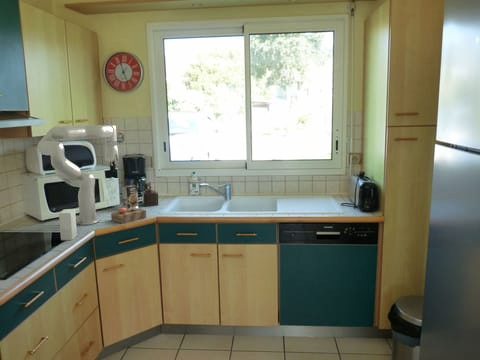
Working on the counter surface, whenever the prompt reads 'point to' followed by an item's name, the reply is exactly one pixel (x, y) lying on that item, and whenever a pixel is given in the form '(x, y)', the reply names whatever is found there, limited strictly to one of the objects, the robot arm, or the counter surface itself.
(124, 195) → the coffee box
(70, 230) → the skincare box
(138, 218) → the button box
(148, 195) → the brown storage container
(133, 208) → the grey plunger
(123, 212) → the red plunger
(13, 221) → the counter surface
